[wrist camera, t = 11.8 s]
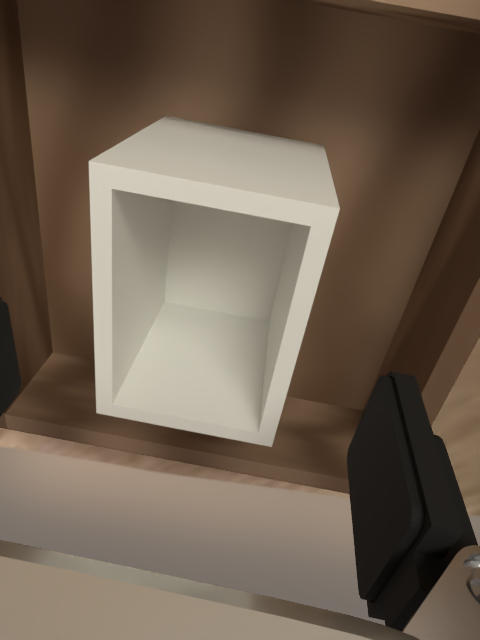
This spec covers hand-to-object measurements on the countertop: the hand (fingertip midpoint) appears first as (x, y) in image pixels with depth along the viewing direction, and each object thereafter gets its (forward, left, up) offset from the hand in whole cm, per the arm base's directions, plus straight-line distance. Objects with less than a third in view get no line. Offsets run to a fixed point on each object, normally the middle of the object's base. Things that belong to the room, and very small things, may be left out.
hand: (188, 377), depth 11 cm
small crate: (0, 0, -11) cm, 11 cm away
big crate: (0, 0, -12) cm, 12 cm away
